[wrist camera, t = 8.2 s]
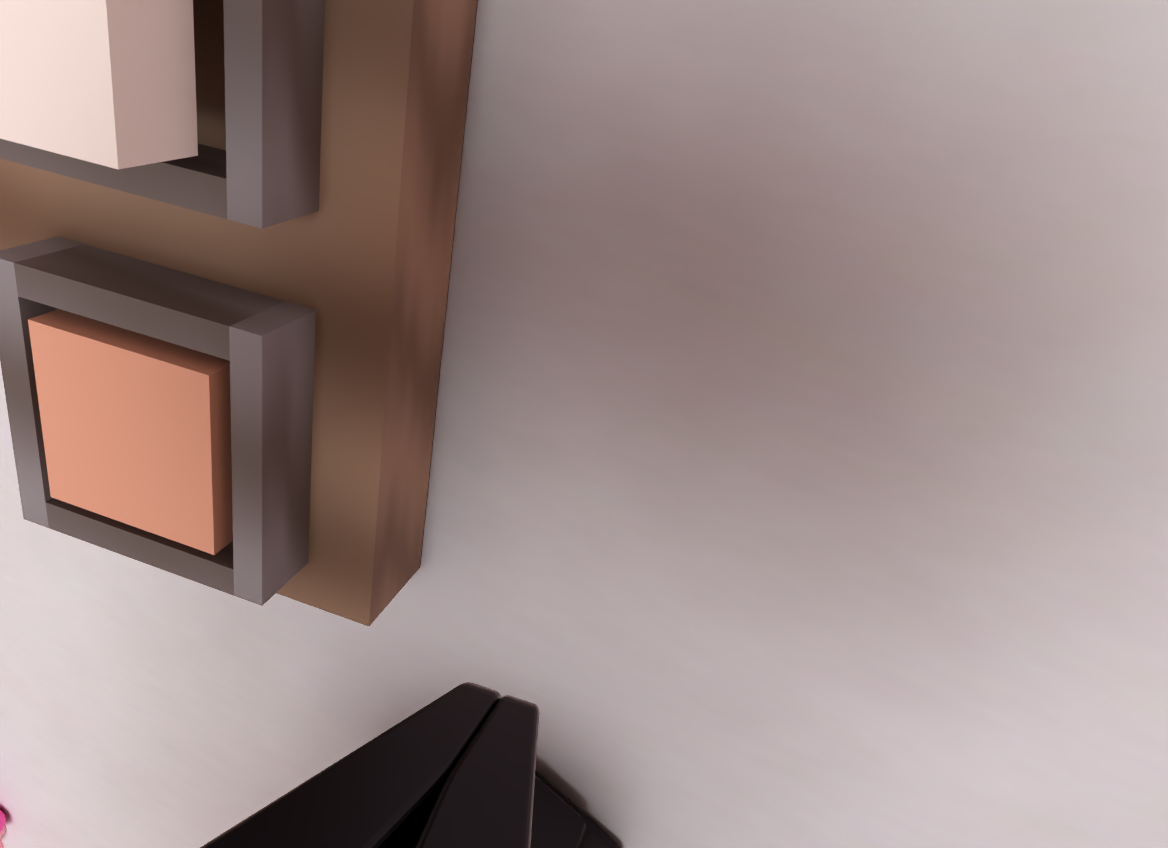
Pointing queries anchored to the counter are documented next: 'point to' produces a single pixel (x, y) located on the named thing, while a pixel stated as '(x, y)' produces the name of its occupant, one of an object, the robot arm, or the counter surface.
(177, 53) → the beige key
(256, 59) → the keypad board
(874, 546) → the counter surface
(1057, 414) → the counter surface
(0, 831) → the candy landscape model
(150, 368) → the terracotta key
